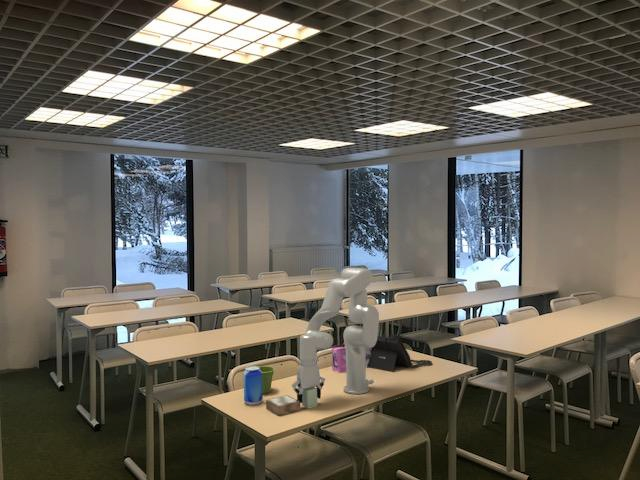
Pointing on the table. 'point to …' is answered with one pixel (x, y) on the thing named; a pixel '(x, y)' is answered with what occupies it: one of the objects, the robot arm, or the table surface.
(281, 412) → the base block
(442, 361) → the table surface
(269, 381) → the plant pot
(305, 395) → the green block
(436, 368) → the table surface
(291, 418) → the table surface
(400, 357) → the office phone
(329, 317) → the robot arm
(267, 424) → the table surface
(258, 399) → the beer can
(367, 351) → the gum box
